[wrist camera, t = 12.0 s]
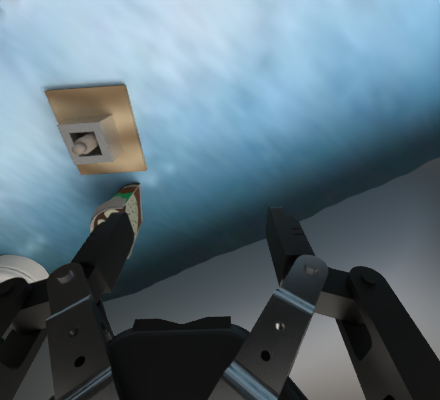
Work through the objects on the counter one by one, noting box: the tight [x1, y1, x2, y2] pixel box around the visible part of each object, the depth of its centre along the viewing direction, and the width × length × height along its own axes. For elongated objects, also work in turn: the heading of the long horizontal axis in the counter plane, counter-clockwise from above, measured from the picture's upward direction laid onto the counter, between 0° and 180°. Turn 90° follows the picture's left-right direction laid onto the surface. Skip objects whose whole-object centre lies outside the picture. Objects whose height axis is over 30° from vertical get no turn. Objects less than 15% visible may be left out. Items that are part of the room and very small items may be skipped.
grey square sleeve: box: [57, 115, 124, 165], centre depth 35 cm, size 6×6×5 cm
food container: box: [90, 183, 142, 259], centre depth 41 cm, size 12×6×10 cm, turn 172°
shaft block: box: [44, 85, 147, 175], centre depth 34 cm, size 14×12×8 cm
